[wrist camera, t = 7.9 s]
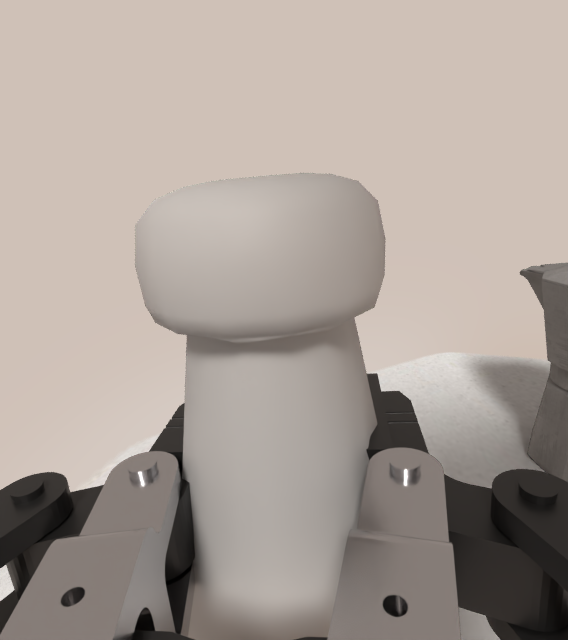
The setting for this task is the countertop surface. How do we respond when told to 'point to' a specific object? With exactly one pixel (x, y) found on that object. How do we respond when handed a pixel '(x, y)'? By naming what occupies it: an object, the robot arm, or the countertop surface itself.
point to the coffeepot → (552, 370)
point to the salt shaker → (268, 387)
